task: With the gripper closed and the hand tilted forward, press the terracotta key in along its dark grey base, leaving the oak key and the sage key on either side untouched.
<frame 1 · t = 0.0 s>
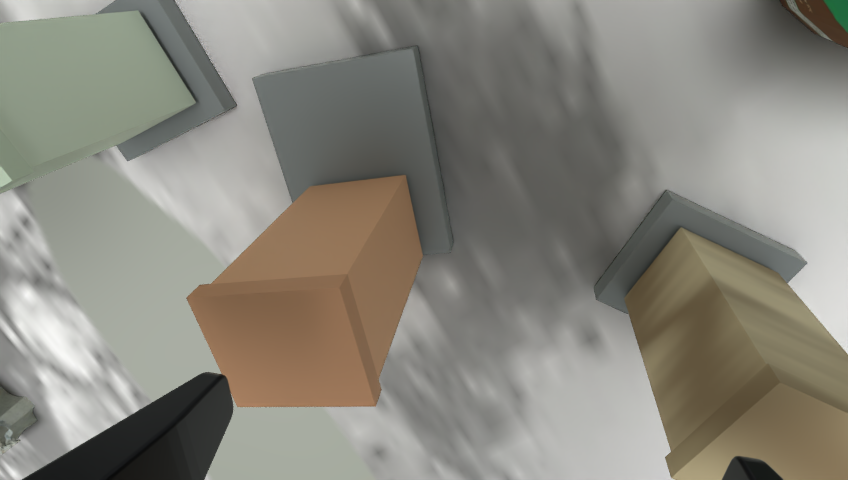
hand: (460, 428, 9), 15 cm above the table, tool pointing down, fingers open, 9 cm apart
oak key base: (689, 270, 22), on the table
terracotta key base: (362, 162, 23), on the table
oak key: (737, 356, 17), point 6 cm above the table, slide at 0.0 cm
terracotta key: (334, 273, 19), point 6 cm above the table, slide at 0.0 cm
sage key: (42, 104, 18), point 6 cm above the table, slide at 0.0 cm
sage key base: (150, 75, 23), on the table
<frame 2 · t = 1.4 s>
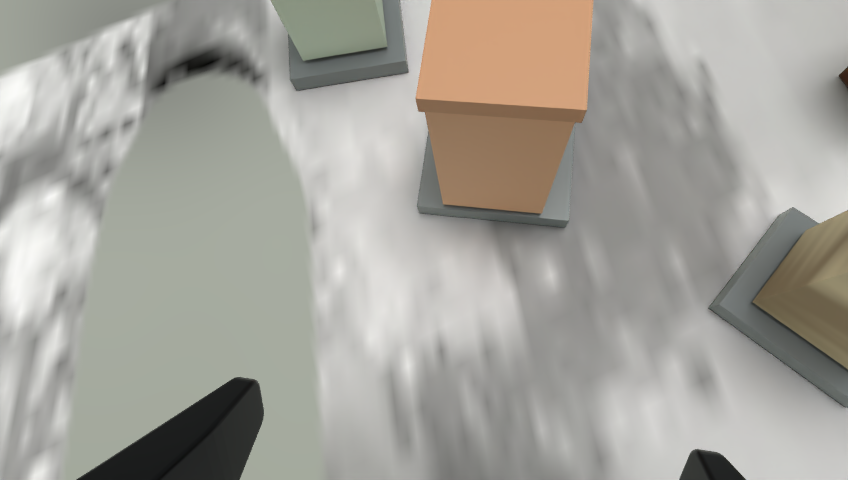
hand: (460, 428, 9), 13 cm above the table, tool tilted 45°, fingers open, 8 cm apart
oak key base: (810, 305, 21), on the table
terracotta key base: (500, 136, 25), on the table
terracotta key: (500, 119, 19), point 6 cm above the table, slide at 0.0 cm
sage key base: (348, 38, 28), on the table
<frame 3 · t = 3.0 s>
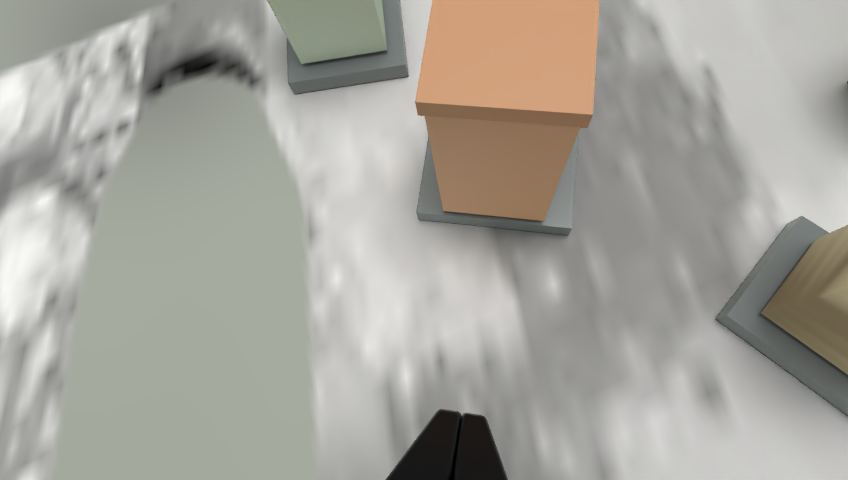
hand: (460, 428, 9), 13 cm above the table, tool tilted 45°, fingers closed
oak key base: (820, 316, 21), on the table
terracotta key base: (501, 141, 25), on the table
terracotta key: (502, 123, 18), point 6 cm above the table, slide at 0.0 cm
sage key base: (348, 41, 27), on the table
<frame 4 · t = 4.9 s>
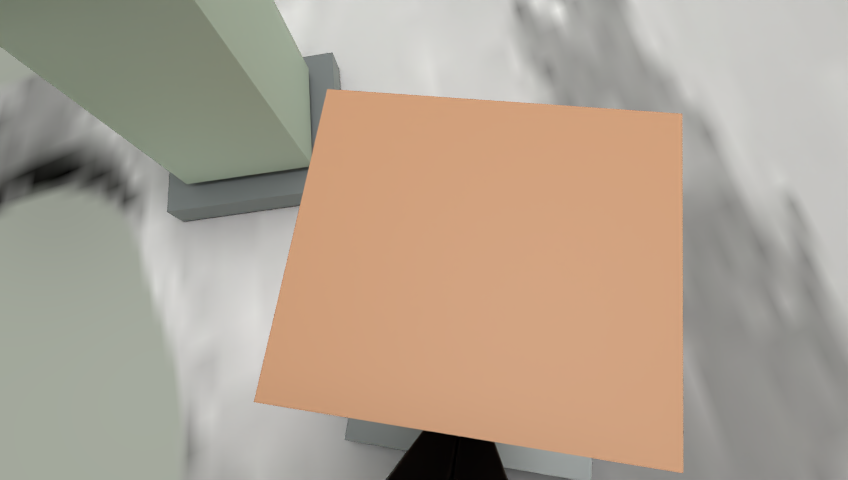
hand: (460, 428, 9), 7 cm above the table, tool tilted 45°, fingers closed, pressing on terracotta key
terracotta key base: (481, 309, 16), on the table
terracotta key: (477, 312, 10), point 6 cm above the table, slide at 1.3 cm, touching gripper
sage key: (176, 37, 14), point 6 cm above the table, slide at 0.0 cm
sage key base: (263, 142, 19), on the table
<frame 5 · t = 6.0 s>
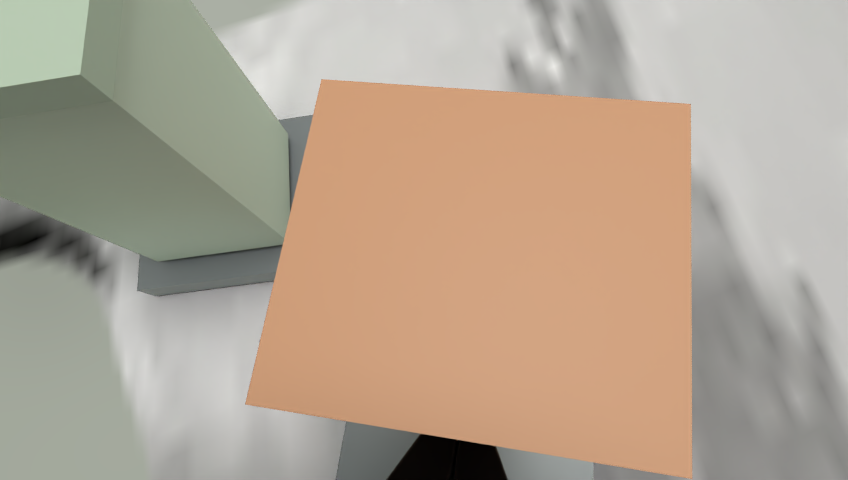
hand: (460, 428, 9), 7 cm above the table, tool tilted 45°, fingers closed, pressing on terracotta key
terracotta key base: (470, 400, 15), on the table
terracotta key: (477, 309, 10), point 6 cm above the table, slide at 4.3 cm, touching gripper
sage key: (136, 127, 12), point 6 cm above the table, slide at 0.0 cm
sage key base: (242, 209, 18), on the table
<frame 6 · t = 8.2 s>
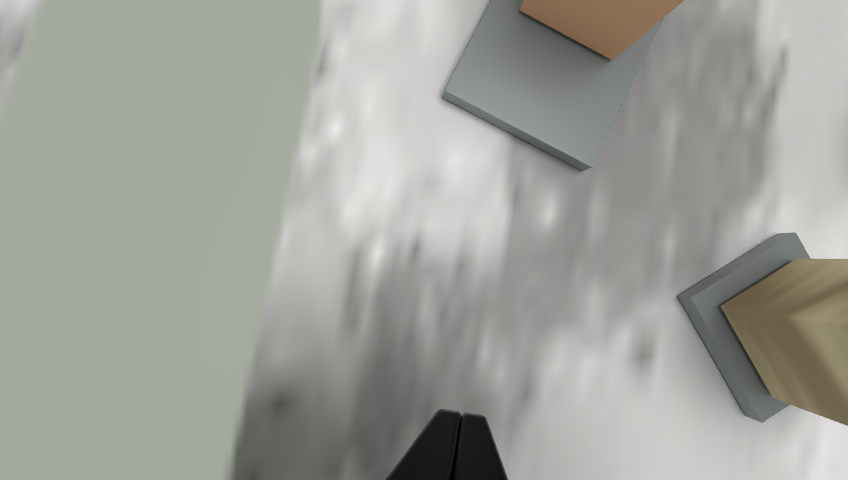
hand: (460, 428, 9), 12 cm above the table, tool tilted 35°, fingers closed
oak key base: (761, 323, 23), on the table
terracotta key base: (556, 45, 22), on the table
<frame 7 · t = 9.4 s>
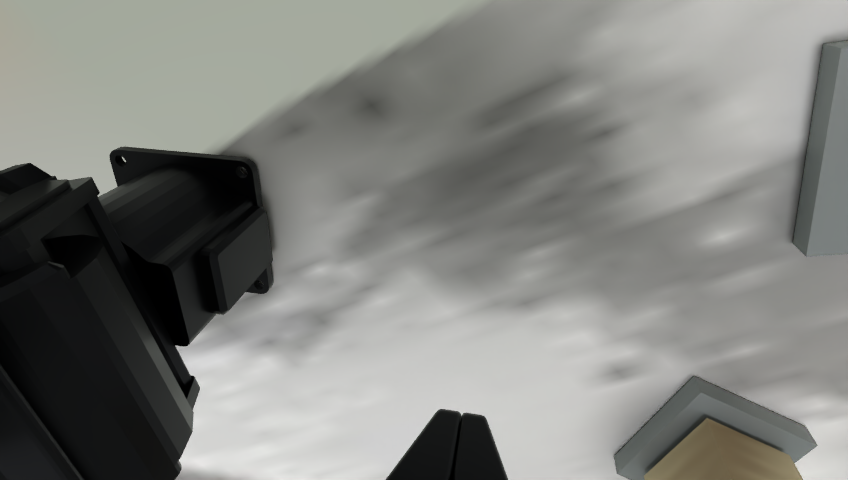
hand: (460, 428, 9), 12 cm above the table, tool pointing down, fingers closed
oak key base: (704, 442, 24), on the table
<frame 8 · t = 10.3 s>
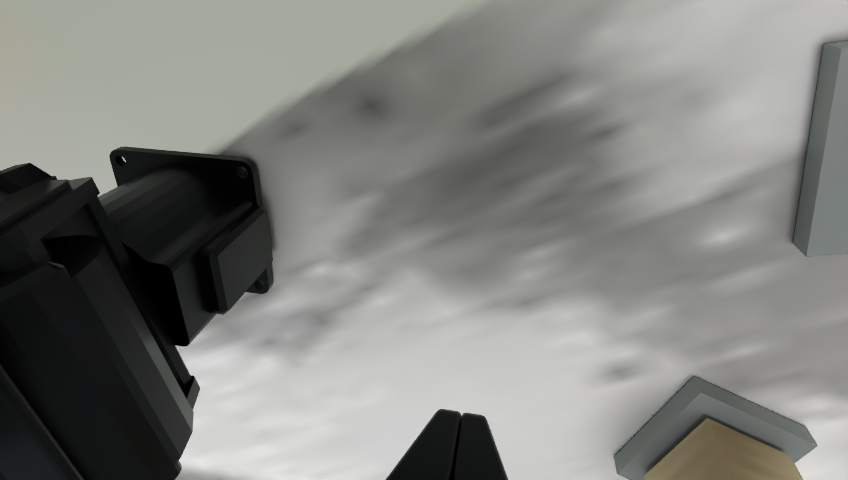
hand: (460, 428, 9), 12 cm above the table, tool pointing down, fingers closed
oak key base: (704, 442, 23), on the table
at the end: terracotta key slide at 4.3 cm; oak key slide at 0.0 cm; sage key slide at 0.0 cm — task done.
